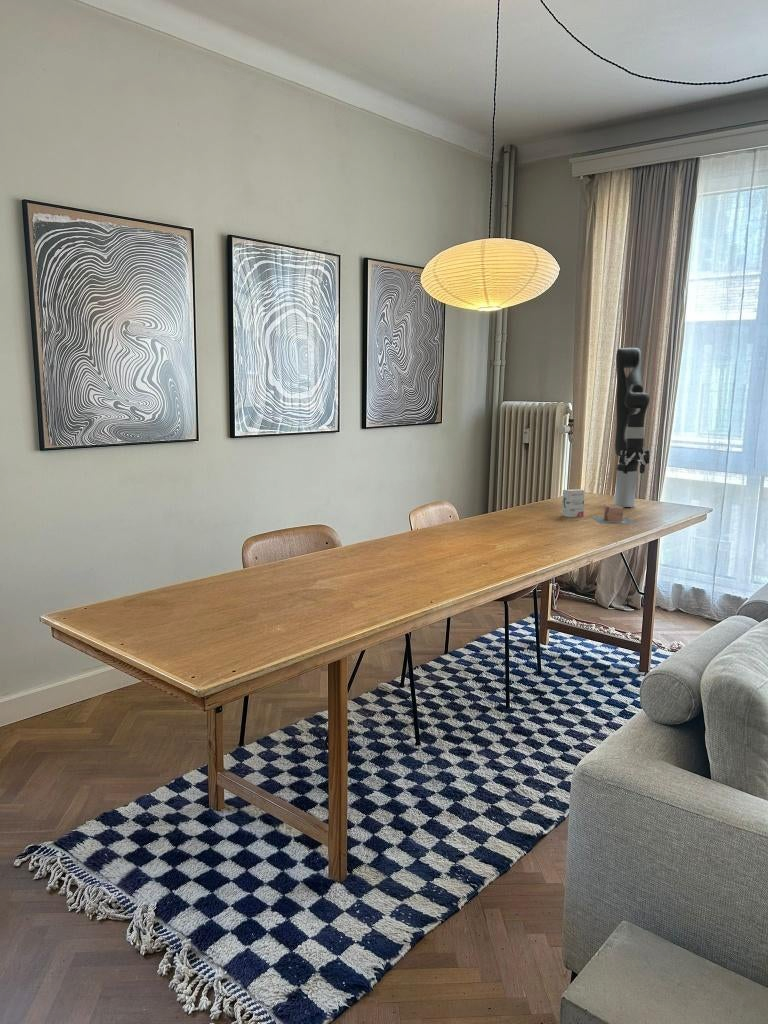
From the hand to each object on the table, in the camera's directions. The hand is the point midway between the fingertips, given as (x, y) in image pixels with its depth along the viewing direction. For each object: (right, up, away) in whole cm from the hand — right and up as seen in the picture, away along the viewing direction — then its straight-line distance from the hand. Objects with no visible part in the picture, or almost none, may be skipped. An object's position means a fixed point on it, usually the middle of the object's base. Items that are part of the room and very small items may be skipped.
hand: (633, 473), depth 348 cm
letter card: (-14, -21, -16) cm, 30 cm away
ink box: (-29, -20, -7) cm, 36 cm away
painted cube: (-14, -21, -16) cm, 30 cm away
